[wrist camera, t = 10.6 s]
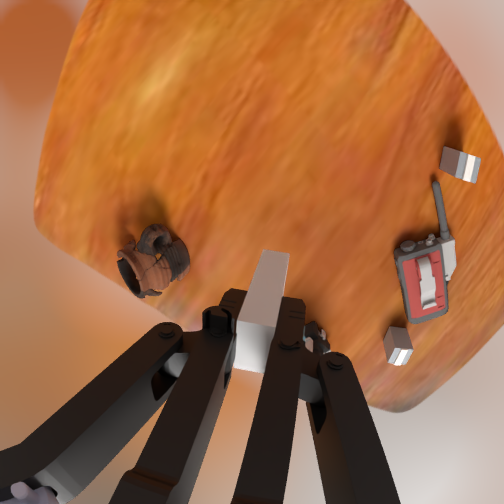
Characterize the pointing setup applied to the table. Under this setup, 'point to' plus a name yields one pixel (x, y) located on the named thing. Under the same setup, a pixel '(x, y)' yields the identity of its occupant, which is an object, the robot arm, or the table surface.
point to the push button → (315, 339)
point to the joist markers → (457, 166)
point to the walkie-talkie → (427, 270)
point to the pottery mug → (153, 261)
